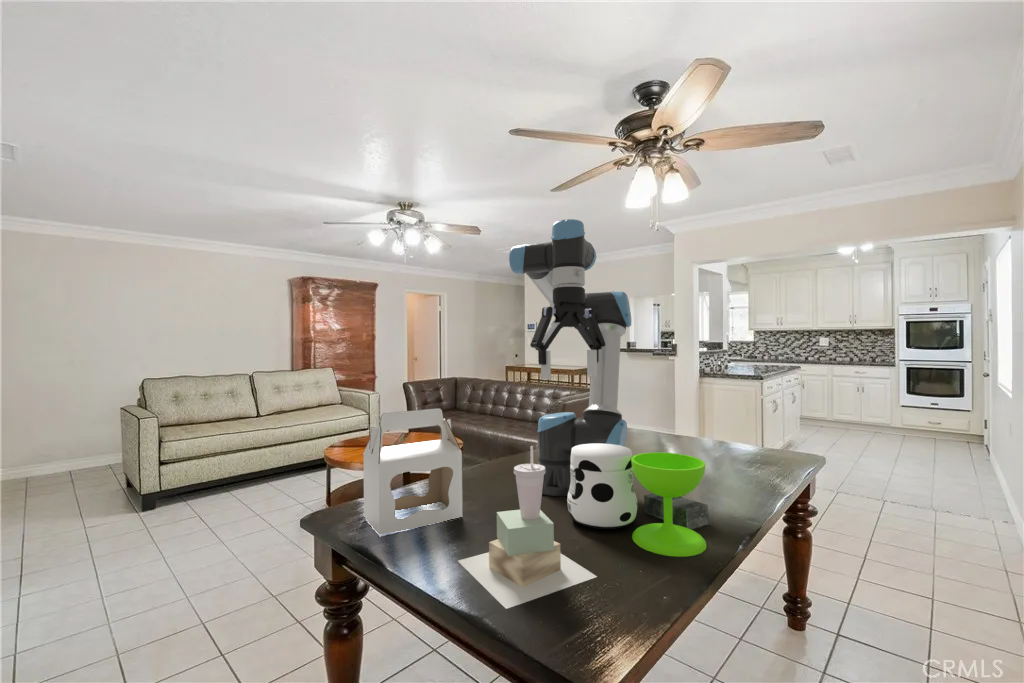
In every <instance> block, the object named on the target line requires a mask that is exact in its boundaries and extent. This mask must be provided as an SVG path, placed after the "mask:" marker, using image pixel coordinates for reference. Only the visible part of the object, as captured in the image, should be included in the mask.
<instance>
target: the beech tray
mask: <svg viewBox="0 0 1024 683" xmlns="http://www.w3.org/2000/svg"><path fill="white" fill-rule="evenodd" d="M488 552H489V568H491V569H493V570H494V571H496V572H498V573H499V574H501V575H503V576H504V577H506V578H508V579H509V580H511V581H513V582H514V583H516V584H518V585H520V586H521V587H525V586H527V585H529V584H531V583H533V582H535V581H537V580H540V579H542V578H544V577H546V576H548V575H550V574H552V573H554V572H556V571H558V570H560V569H561V554H562V552H561V543H559V542H557V541H555V540H554V550H549V551H542V552H535V553H528V554H520V555H513V556H508V555H507V553H506V551H505V549H504V548H503V546H502V544H501V543H500V541H499V539H498V538H497V539H494V540H491V541H489V542H488Z"/></svg>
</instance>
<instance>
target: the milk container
mask: <svg viewBox="0 0 1024 683" xmlns="http://www.w3.org/2000/svg"><path fill="white" fill-rule="evenodd" d="M633 456H634V455H633V452H632V450H631V448H629V447H626V446H625V447H624V446H620V445H614V444H602V443H593V444H581V445H577V446H574V447H573V448H572V450H571V465H570V473H571V482H570V488H569V492H568V496H567V499H566V501H567V502H566V504H567V510H568V514H569V517H570V518H571V519H572V520H573V521H575V522H576V523H578V524H580V525H582V526H585V527H587V528H591V529H599V530H617V529H619V528H621V529H622V528H625V527H627V526H630V525H631V524H632V523H633V522H634V521H635V519H636V517H637V511H638V499H637V494H636V492H635V488H634V471H633V469H632V462H631V457H633Z"/></svg>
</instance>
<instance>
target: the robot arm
mask: <svg viewBox="0 0 1024 683" xmlns="http://www.w3.org/2000/svg"><path fill="white" fill-rule="evenodd" d="M551 230H552V231H551V237H550V238H551V241H549V242H548V241H547V242H539V243H536V242H535V243H528V244H526V243H524V244H520V245H514V246H512V247H511V249H510V251H509V255H508V261H509V266H510V267H509V268H510V270H511V271H512V272H513V274H519V275H520V274H521V275H523V274H526V275H527V276H528V278H529V279H530V280H531V281H532V283H533V284H534V285H535V286H536V288H537V289H538V290H539V291H540V293H541V295H542V296H544V298H545V299H546V301H547V302H548V303H549V306H544V307H542V309H541V317H540V320H539V322H538V325H537V327H536V329H535V332H534V334H533V337H532V339H531V342H530V344H529V345H530V347H531V348H532V349H533V348H534V349H535V351H538V352H537V354H538V355H537V358H538V360H537V361H538V365H540V379H541V380H546V381H547V380H551V379H552V378H551V377H552V376H551V375H552V372H551V371H552V370H551V369H552V367H551V366H552V364H551V363H552V361H551V358H552V357H551V350H548V348H550V345H551V344H552V343H553V341H554V340H555V338H556V337H557V335H558V334H559V332H560V331H561V330H562V329H563V328H574V329H575V330H577V332H578V333H579V335H580V336H581V337H582V339H583V341H584V342H585V343H586V345H587V347H589V349H586V368H587V369H586V373H587V377H590V383H589V400H588V407H587V408H585V409H584V410H583V412H582V413H583V414H582V417H577V415H576V413H575V412H573V411H572V412H569V411H566V412H564V411H562V412H555V413H548V414H545V415H543V416H541V417H540V418H539V419H538V422H537V425H538V427H537V431H536V432H537V449H538V450H537V453H538V454H537V455H538V456H537V460H538V463H537V464H539V465H542V466H544V467H545V472H546V473H545V474H544V479H543V488H542V495H544V496H551V497H566V496H568V492H569V488H570V482H571V473H570V465H571V450H572V448H573V447H574V446H577V445H581V444H593V443H602V444H614V445H620V446H624V447H626V442H627V435H628V423H627V421H626V420H625V419H623V414H622V413H621V412H620V411H619V409H618V401H619V399H618V398H619V396H618V395H619V378H620V376H619V375H620V360H621V359H620V357H621V338H622V337H623V336H625V334H626V332H627V328H629V327H631V326H632V315H631V313H632V312H631V306H630V301H629V298H628V295H627V293H626V292H624V291H606V292H589V293H587V292H586V289H585V288H584V286H585V285H586V284H585V283H586V279H585V278H586V277H585V276H586V275H585V273H586V272H585V271H588V270H589V269H592V267H593V266H594V265H595V263H596V261H597V252H596V250H595V247H594V246H593V244H592V243H591V242H589V241H587V240H586V238H585V235H586V232H585V226H584V223H583V221H581V220H580V219H573V218H569V219H561V220H558V221H555V222H554V223H553V225H552V228H551ZM552 317H554V319H553V321H552V322H551V320H552ZM549 326H550V327H549Z"/></svg>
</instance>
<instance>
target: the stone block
mask: <svg viewBox="0 0 1024 683" xmlns="http://www.w3.org/2000/svg"><path fill="white" fill-rule="evenodd" d="M643 501H644V502H643V506H644V507H643V508H644V513H646V514H648V515H650V516H653V517H655V518H657V519H660V520H663V521H664V502H663V497H662V496H659V495H656V494H653V493H650V494H645V495H644V496H643ZM672 515H673V524H674V525H679V526H682V527H686V528H688V529H691V530H694V529H695V530H696V529H699V528H702V527H704V526H710V524H711V523H710V522H711V521H710V517H709V506H708V504H707V503H702V502H699V501H696V500H693V499H690V498H687V497H684V496H681V497H675V498H672Z"/></svg>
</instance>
